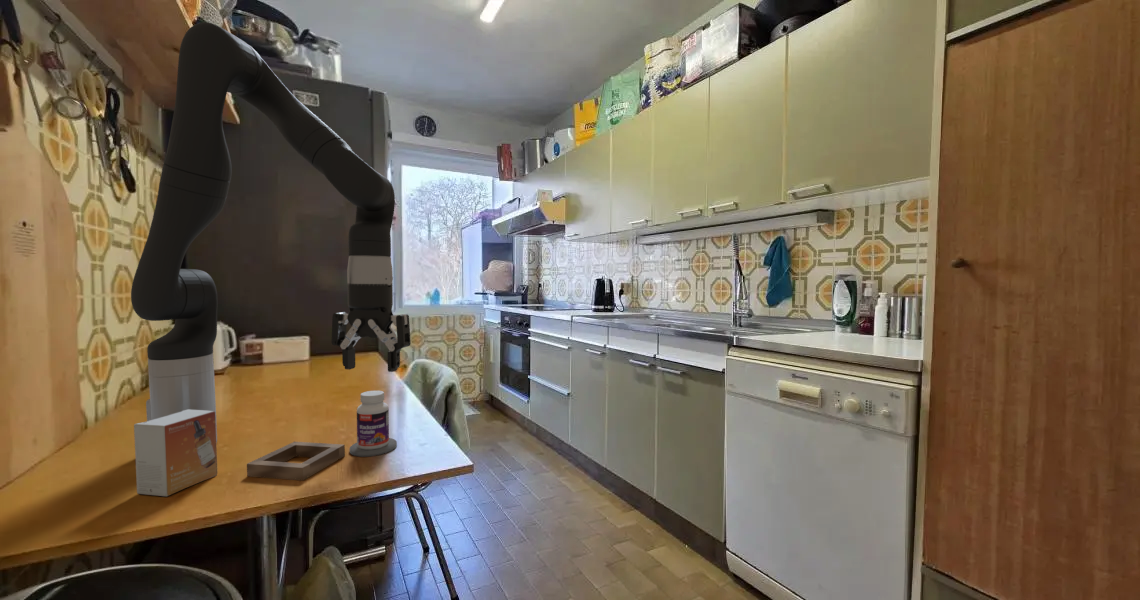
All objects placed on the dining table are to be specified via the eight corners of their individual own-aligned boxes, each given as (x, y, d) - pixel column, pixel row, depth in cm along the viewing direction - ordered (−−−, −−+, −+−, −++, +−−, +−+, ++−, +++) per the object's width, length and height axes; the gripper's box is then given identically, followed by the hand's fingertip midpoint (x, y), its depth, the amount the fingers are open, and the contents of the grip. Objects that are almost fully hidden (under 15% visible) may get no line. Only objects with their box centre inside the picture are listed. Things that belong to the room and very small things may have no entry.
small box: (166, 498, 66) (162, 426, 65) (135, 494, 67) (131, 423, 66) (219, 474, 74) (216, 410, 73) (191, 472, 75) (188, 408, 74)
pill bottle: (356, 452, 81) (355, 397, 81) (358, 442, 86) (356, 390, 86) (389, 448, 83) (388, 394, 83) (389, 438, 88) (388, 388, 88)
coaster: (339, 455, 81) (339, 452, 81) (366, 439, 89) (366, 436, 89) (381, 458, 80) (381, 454, 80) (405, 441, 88) (404, 438, 88)
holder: (247, 476, 73) (246, 463, 73) (294, 452, 83) (294, 441, 83) (303, 480, 71) (302, 467, 71) (344, 455, 81) (344, 444, 81)
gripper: (320, 281, 81) (322, 372, 82) (395, 282, 78) (396, 376, 79) (347, 280, 88) (349, 364, 89) (417, 281, 86) (417, 367, 87)
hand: (371, 369), depth 84 cm, fingers open, 8 cm apart
